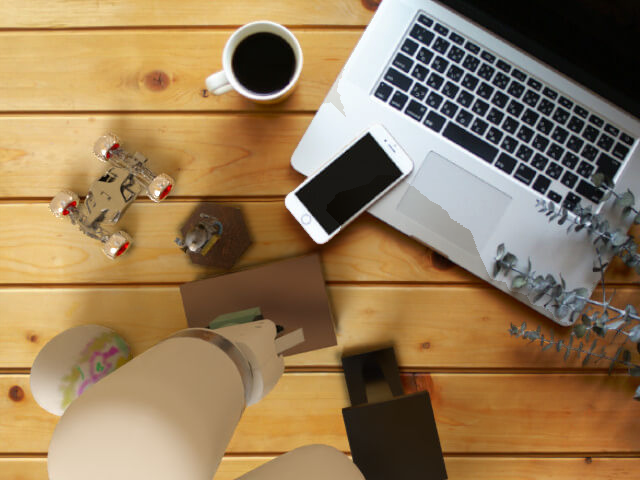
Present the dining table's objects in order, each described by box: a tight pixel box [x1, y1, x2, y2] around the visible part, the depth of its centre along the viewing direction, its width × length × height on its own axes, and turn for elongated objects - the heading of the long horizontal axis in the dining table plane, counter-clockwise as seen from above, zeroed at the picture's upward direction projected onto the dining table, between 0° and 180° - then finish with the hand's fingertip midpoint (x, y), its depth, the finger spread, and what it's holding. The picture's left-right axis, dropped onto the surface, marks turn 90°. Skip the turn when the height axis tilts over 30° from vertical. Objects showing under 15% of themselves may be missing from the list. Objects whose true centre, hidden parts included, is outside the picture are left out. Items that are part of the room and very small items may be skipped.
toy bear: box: [209, 307, 261, 330], centre depth 52 cm, size 4×4×9 cm
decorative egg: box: [29, 324, 134, 417], centre depth 71 cm, size 12×12×15 cm
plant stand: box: [340, 344, 449, 480], centre depth 65 cm, size 9×9×26 cm
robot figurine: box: [173, 201, 253, 271], centre depth 72 cm, size 11×9×12 cm
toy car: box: [48, 131, 176, 260], centre depth 76 cm, size 15×12×5 cm
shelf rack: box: [178, 251, 339, 358], centre depth 73 cm, size 12×18×11 cm, turn 103°
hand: (238, 335), depth 52 cm, fingers closed on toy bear, 4 cm apart
